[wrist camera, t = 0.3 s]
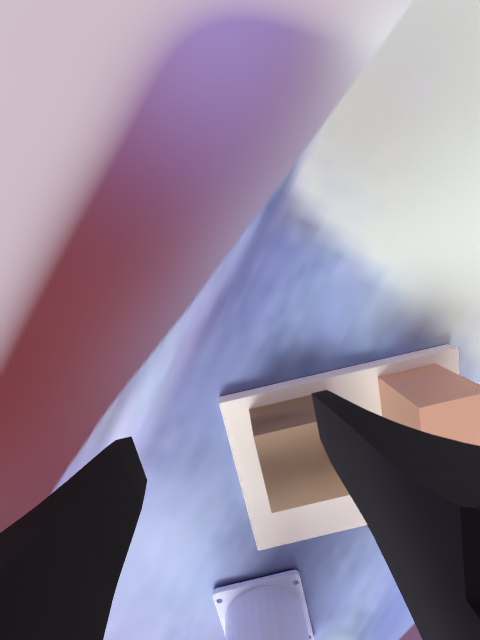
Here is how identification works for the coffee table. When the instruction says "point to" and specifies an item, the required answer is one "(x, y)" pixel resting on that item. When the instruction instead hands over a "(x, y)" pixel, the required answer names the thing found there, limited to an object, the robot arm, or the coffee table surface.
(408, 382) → the terracotta block
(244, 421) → the cream board
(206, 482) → the coffee table surface
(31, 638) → the robot arm
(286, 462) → the walnut block
